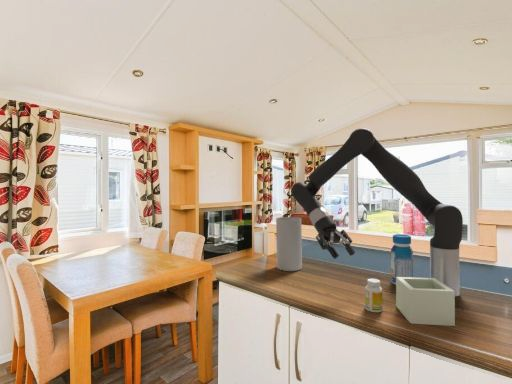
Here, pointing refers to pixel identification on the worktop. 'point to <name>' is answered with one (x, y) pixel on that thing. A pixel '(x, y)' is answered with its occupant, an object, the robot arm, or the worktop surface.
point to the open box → (425, 301)
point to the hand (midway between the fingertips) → (345, 255)
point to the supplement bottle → (373, 296)
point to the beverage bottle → (401, 257)
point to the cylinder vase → (289, 243)
